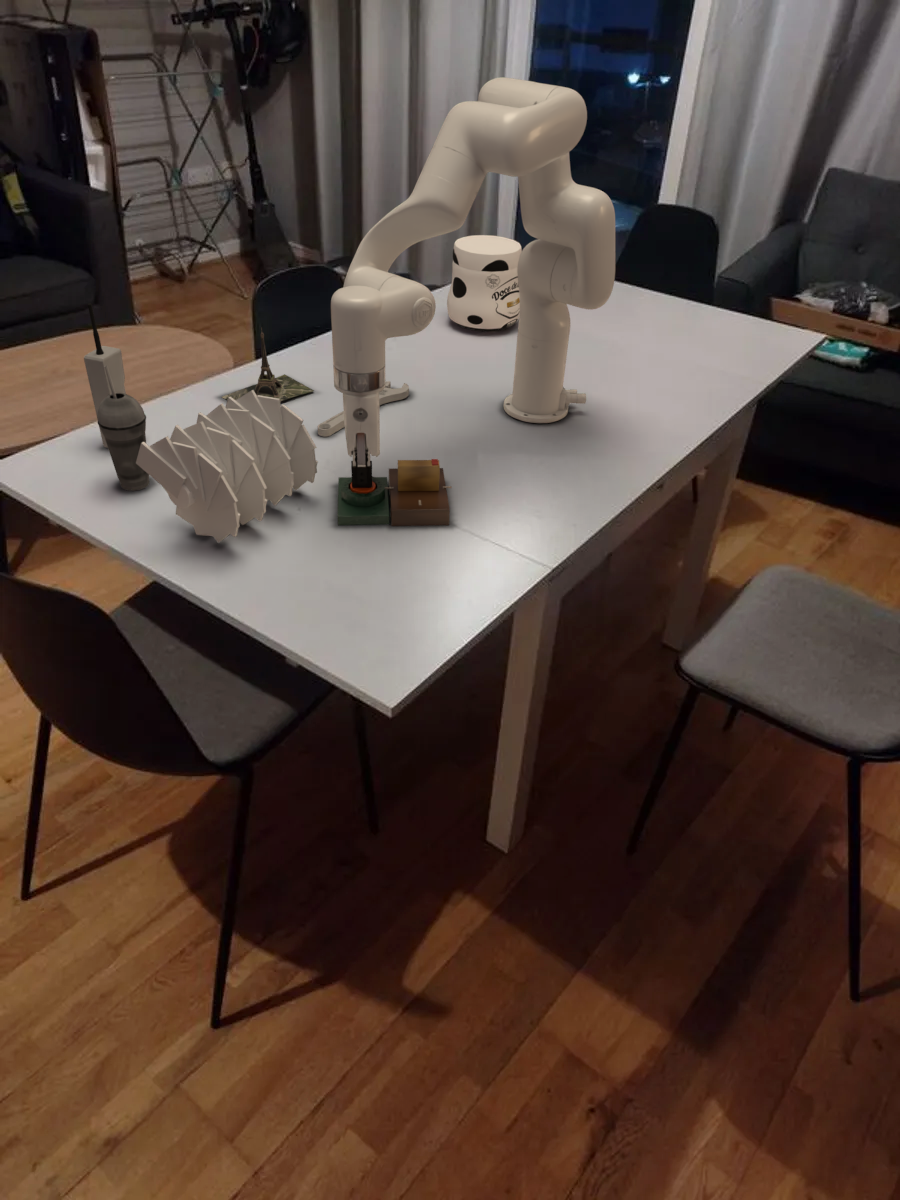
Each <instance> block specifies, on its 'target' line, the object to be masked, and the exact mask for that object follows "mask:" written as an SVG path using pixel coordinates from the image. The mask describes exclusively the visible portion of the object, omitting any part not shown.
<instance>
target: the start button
mask: <svg viewBox="0 0 900 1200" xmlns="http://www.w3.org/2000/svg"><path fill="white" fill-rule="evenodd" d="M350 490H351V491H352V492H355V493H358V494H366V493H370V492H374V491H375V490H376V485H375V483H374V482H373V481H372V487H371V488H353V487H352V483H351V484H350Z"/></svg>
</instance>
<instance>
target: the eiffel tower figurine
mask: <svg viewBox="0 0 900 1200" xmlns="http://www.w3.org/2000/svg"><path fill="white" fill-rule="evenodd" d="M260 340H261V342H260V343H261V364H260V365H261V366H260V374H259V375H258V376H259V377H258V378H257V383H256V384H252V385H250V386H247V387H245V388H241V389H238V390H236V391H233V392H230V393H228V394H225V395H223V396H221V398H222V399H224V400H226V401H227V400H228V397H232V398H233V399H234V400H235V401H236V400H237V399H239V398H240V397H242V396H243V395H245V394H247V393H248V392H250V391H252V390H254V392H255V394H256V395H257V396H258V395H260V396H266V397H272V398H278V399H280V402H283V401H286V400H289V399H291V398H295V397H299V396H302V395H306V394H310V393H312V392H315V390H314V389H312V388H310V387H308V386H307V385H305V384H303V383H302V382H299V381H298V380H296V379H294V378H292V377H290V376H289V375H287V374H282V375H279V376H277V377H275V374H273V372H272V370H271V367H270V365H271V364H270V363H269V361H268V355H267V349H266V344H265V334H264V332H263V327H262V326H261V333H260ZM265 373H266V374H265Z"/></svg>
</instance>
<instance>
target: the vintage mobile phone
mask: <svg viewBox="0 0 900 1200" xmlns="http://www.w3.org/2000/svg"><path fill="white" fill-rule="evenodd" d="M87 308H88V313H89V318H90V323H91V327H92V336H93V340H94V344H95V349H94V350H92V351H89V352H88V353H87V354H85V355H84V356H83V361H84V362H83V363H84V365H85V371H86V375H87V380H88V384H89V388H90V392H91V397H92V401H93V407H94V411H95V415H96V419H97V421H98V409H99V406H100V404H101V402H102V401H103V400H104V399H105V398H106V397H107V396H109V395H111V394H112V392H111V389H110V385H109V382H108V378H107V375H106V371H105V368H104V366H106V365H107V366H108V369H109V373H110V376H111V379H112V383H113V386H114V390H115V393H124V394H127V391H126V386H125V379H126V375H125V369H124V360H123V353H122V349H121V348H117V347H113V346H107V345H102V343H101V338H100V334H99V331H98V328H97V323H96V319H95V314H94V313H95V312H94V309H93V308H94V307H93V304H92V303H91V302H89V303H87ZM98 428H99V433H100V437H101V442H102V446H103V447H104V448H106V449H108V446H107V443H106V440H105V437H104V435H103V433H102V431H101V429H100V426H99V425H98Z"/></svg>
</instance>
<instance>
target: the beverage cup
mask: <svg viewBox="0 0 900 1200" xmlns="http://www.w3.org/2000/svg"><path fill="white" fill-rule="evenodd" d="M104 368H105V371H106V375H107V378H108V382H109V385H110V389H111V392H112V394H111V395H109V396H107V397H106V398H105V399H104V400H103V401H102V402H101V404H100V406H99V409H98V420H97V425H98V427H99V426H100V428H99V430H100V429H101V431H102V433H103V435H104V437H105V440H106V443H107V446H108V448H107V449H108V452H109V455H110V458H111V461H112V465H113V467H114V470H115V473H116V476H117V480H118V481H119V484H120V487H121V488H122V489H123V490H124V491H128V492H135V491H140V490H143V489H146V488H147V487H149V485H150V475H149V474H148V473H147V472H145V471H144V470H143V469H142V468H141V467H140V466H138V465H137V464H136V460H137V457H138V453H139V449H140V446H141V443H142V442H145V443H146V444H147V436H146V431H147V430H146V429H147V415H146V414H145V410H144V409H143V407H142V405H141V404H140V402H139V401H138V400H137V399H136V398H134V396H131V395H130V394H127V393H126V394H124V393H115V390H114V386H113V383H112V379H111V376H110V373H109V369H108V366H107V365H106V366H104Z"/></svg>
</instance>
